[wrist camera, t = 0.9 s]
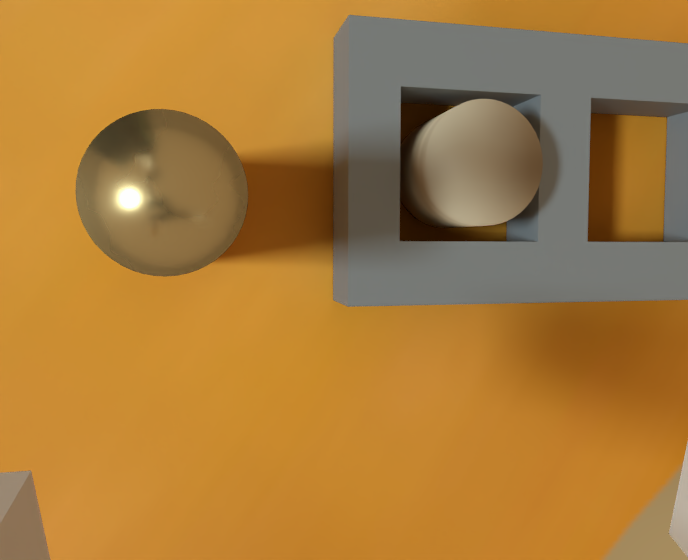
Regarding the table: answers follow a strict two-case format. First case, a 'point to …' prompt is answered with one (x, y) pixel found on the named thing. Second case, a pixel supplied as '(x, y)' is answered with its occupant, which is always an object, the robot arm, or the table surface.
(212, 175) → the brass cylinder
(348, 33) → the jig plate
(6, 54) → the table surface
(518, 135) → the wooden plug
